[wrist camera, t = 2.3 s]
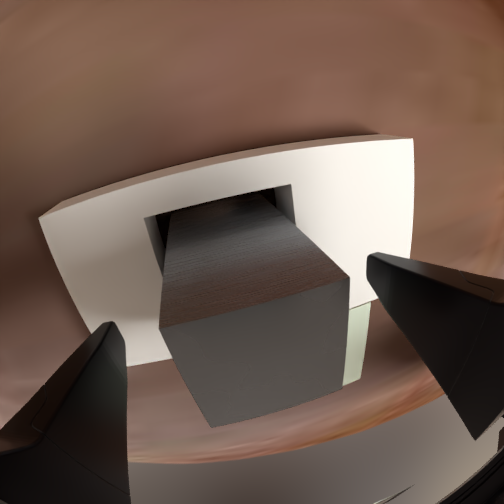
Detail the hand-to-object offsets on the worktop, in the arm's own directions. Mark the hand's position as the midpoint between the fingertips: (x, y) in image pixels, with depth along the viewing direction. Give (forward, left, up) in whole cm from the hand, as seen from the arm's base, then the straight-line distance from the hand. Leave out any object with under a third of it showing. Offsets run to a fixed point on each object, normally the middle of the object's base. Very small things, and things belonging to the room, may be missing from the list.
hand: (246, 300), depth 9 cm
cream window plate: (-1, 0, -5) cm, 5 cm away
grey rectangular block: (0, 0, -5) cm, 5 cm away
